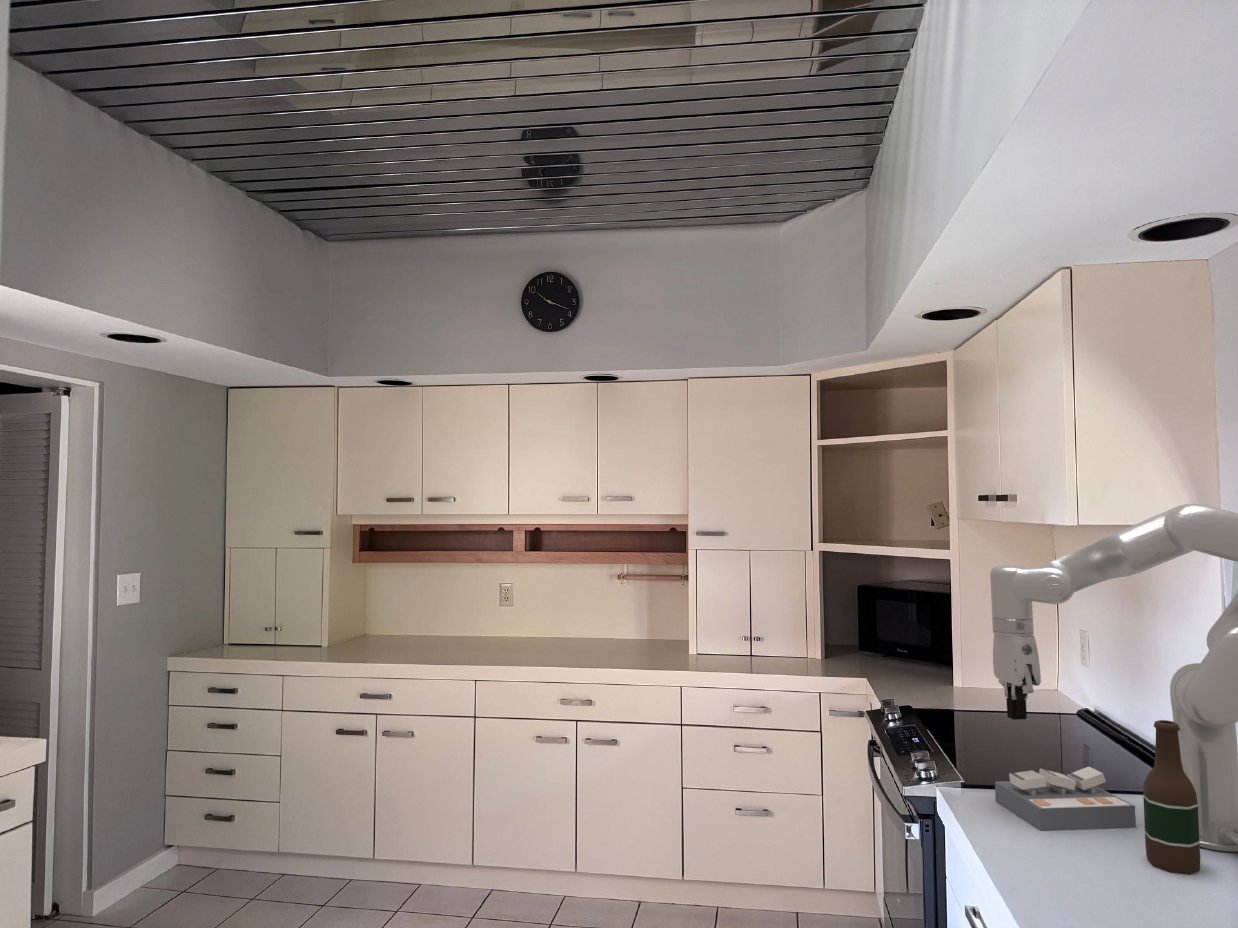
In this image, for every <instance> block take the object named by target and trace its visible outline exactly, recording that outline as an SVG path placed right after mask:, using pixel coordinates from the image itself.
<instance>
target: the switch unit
mask: <svg viewBox="0 0 1238 928" xmlns="http://www.w3.org/2000/svg"><path fill="white" fill-rule="evenodd" d="M994 789H995V792H994V794H995V797H994V798H995V802H996V803H998V804H999V805H1001V806H1002V807H1003V808H1005V809H1007V810H1008V811H1009V812H1011V813H1013V814H1014V815H1016V816H1018V817H1019V818H1020V819H1023V821H1025V822H1027V823H1028V824H1030V825H1031V826H1032V827H1034V828H1036V829H1037V830H1039V831H1066V830H1067V831H1068V830H1092V829H1093V830H1094V829H1095V830H1096V829H1097V830H1098V829H1099V830H1100V829H1127V828H1129V829H1130V828H1137V821H1136V805H1134V804H1132V803H1130V802H1128V801H1127V800H1124V799H1122V798H1120V797H1118V796H1117V795H1115V794H1113V793H1110V792H1108V791H1106V790H1105V789H1102V788H1101V787H1099V786H1097V785H1096V786H1094V787H1091V788H1088V789H1086V790H1082V789H1080V788H1078V787H1076V786H1075V789H1074V790H1072V789H1068V788H1064V787H1060V786H1056V785H1052V784H1050V783H1048V782H1046V787H1038V788H1031V789H1024V790H1022V789H1020V788H1019V787H1017V786H1015V785H1014V784H1012V783H1010V780H1007V781H1006V780H1005V781H1004V780H1003V781H1001V780H999V781H994Z"/></svg>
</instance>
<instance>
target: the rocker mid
mask: <svg viewBox="0 0 1238 928" xmlns="http://www.w3.org/2000/svg"><path fill="white" fill-rule="evenodd" d="M1038 774H1040V775H1042V776H1044V777H1045V780H1046V782H1048V783H1050V784H1052V785H1056V786H1060V787H1064V788H1068V789H1072V790H1074V789H1075V785H1076V781H1075V780H1073V779H1071V778H1069V777H1068V776H1067V775H1065V774H1063V773H1060V772H1056V771H1053V770H1048V769H1045V768H1039V771H1038Z"/></svg>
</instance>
